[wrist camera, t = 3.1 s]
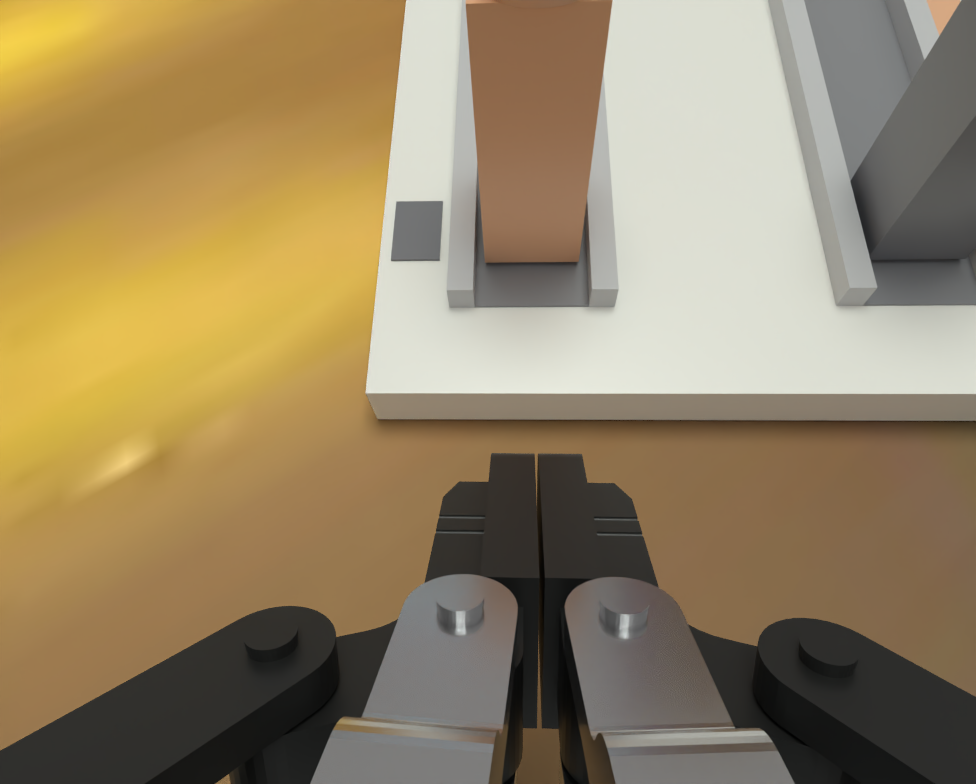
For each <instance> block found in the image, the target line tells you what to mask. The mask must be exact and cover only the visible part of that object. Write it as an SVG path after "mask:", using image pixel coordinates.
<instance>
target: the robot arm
mask: <svg viewBox="0 0 976 784" xmlns="http://www.w3.org/2000/svg"><path fill="white" fill-rule="evenodd" d="M538 629H539V658H540V688H541V717H542V728H552V729H559V740H560V765H559V784H976V697H975V696H973V695H971V694H969V693H967V692H965V691H964V690H962V689H960V688H958V687H956V686H954V685H953V684H951V683H949V682H947V681H945V680H943V679H942V678H940V677H938V676H936V675H934V674H932V673H931V672H929V671H927V670H925V669H923V668H921V667H920V666H918V665H916V664H914V663H912V662H910V661H909V660H907V659H905V658H903V657H901V656H899V655H898V654H896V653H894V652H892V651H890V650H888V649H887V648H885V647H883V646H881V645H879V644H877V643H876V642H874V641H872V640H870V639H868V638H866V637H865V636H863V635H861V634H859V633H857V632H855V631H853V630H851V629H849V628H846V627H843V626H841V625H838V624H835V623H831V622H828V621H823V620H817V619H809V618H792V619H785V620H781V621H778V622H775V623H773V624H771V625H769V626H768V627H767V628H766V629H765V630H764V631H763V632H762V634H761V635H760V638H759V641H758V646H753V645H748V644H744V643H740V642H736V641H732V640H728V639H723V638H720V637H716V636H713V635H710V634H707V633H705V632H702V631H700V630H698V629H696V628H694V627H692V626H690V625H688V624H687V622H686V619H685V617H684V615H683V613H682V611H681V609H680V607H679V605H678V604H677V602H676V601H675V600H674V599H673V598H672V597H671V596H670V595H669V594H667V593H666V592H665V591H663V590H661V589H660V588H659V587H658V584H657V580H656V577H655V574H654V571H653V567H652V564H651V561H650V557H649V554H648V551H647V547H646V544H645V541H644V538H643V536H642V531H641V528H640V524H639V521H637V514H636V511H635V508H634V505H633V501H632V499H631V498H630V497H629V496H628V495H627V494H626V493H624V492H623V491H622V490H621V489H620V488H619V487H618V486H617V485H616V484H614V483H587V479H586V473H585V468H584V463H583V458H582V454H538V471H537V505H536V480H535V455H534V454H511V453H491V462H490V472H489V482H458V483H457V484H456V485H455V486H454V487H453V488H452V489H451V490H450V491H449V492H448V493H447V494H446V495H445V496H444V497H443V501H442V505H441V510H440V514H439V519H438V524H437V528H436V533H435V537H434V542H433V547H432V551H431V556H430V560H429V565H428V570H427V574H426V579H425V583H424V584H422V585H420V586H419V587H417V588H416V589H415V590H414V591H413V592H411V594H410V595H409V596H408V597H407V599H406V601H405V603H404V605H403V608H402V610H401V613H400V616H399V618H398V619H397V620H396V621H394V622H392V623H390V624H387V625H385V626H382V627H379V628H376V629H372V630H368V631H364V632H359V633H354V634H349V635H345V636H340V637H336V632H335V629H334V626H333V624H332V623H331V621H330V620H329V619H328V618H327V617H326V616H325V615H323V614H321V613H320V612H318V611H315V610H312V609H309V608H305V607H298V606H282V607H274V608H268V609H265V610H261V611H258V612H255V613H252V614H249V615H247V616H245V617H243V618H241V619H239V620H237V621H235V622H234V623H232V624H230V625H228V626H226V627H224V628H223V629H221V630H219V631H217V632H215V633H214V634H212V635H210V636H208V637H206V638H204V639H203V640H201V641H199V642H197V643H195V644H194V645H192V646H190V647H188V648H186V649H184V650H183V651H181V652H179V653H177V654H175V655H174V656H172V657H170V658H168V659H166V660H164V661H163V662H161V663H159V664H157V665H155V666H154V667H152V668H150V669H148V670H146V671H144V672H143V673H141V674H139V675H137V676H135V677H134V678H132V679H130V680H128V681H126V682H124V683H123V684H121V685H119V686H117V687H115V688H114V689H112V690H110V691H108V692H106V693H104V694H103V695H101V696H99V697H97V698H95V699H94V700H92V701H90V702H88V703H86V704H84V705H83V706H81V707H79V708H77V709H75V710H74V711H72V712H70V713H68V714H66V715H65V716H63V717H61V718H59V719H57V720H55V721H54V722H52V723H50V724H48V725H46V726H45V727H43V728H41V729H39V730H37V731H35V732H34V733H32V734H30V735H28V736H26V737H25V738H23V739H21V740H19V741H17V742H15V743H14V744H12V745H10V746H8V747H6V748H5V749H3V750H1V751H0V784H215V783H216V782H218V781H219V780H221V779H222V778H223V777H225V776H226V775H228V774H229V776H230V782H231V784H517V768H518V766H519V764H520V761H521V758H522V749H523V728H537V686H538Z"/></svg>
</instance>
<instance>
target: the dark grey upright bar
mask: <svg viewBox="0 0 976 784" xmlns="http://www.w3.org/2000/svg"><path fill="white" fill-rule="evenodd" d="M850 182H851V186H852V190H853V194H854V198H855V202H856V206H857V209H858V213H859V217H860V221H861V225H862V229H863V233H864V237H865V241H866V245H867V249H868V253H869V256H870V260H907V259H966V258H967V257H968V256H969V254H970V253H971V252H972V251H973V250H974V249H975V248H976V0H961V2H960V3H959V5H958V6H957V8H956V10H955V11H954V13H953V15H952V16H951V18H950V19H949V21H948V23H947V24H946V26H945V28H944V29H943V31H942V33H941V34H940V36H939V37H938V39H937V41H936V42H935V44H934V46H933V47H932V49H931V50H930V52H929V54H928V55H927V57H926V59H925V60H924V62H923V63H922V65H921V67H920V68H919V70H918V72H917V73H916V75H915V76H914V78H913V80H912V81H911V83H910V85H909V86H908V88H907V90H906V91H905V93H904V94H903V96H902V98H901V99H900V101H899V103H898V104H897V106H896V107H895V109H894V111H893V112H892V114H891V116H890V117H889V119H888V120H887V122H886V124H885V125H884V127H883V129H882V130H881V132H880V133H879V135H878V137H877V138H876V140H875V142H874V143H873V145H872V147H871V148H870V150H869V151H868V153H867V155H866V156H865V158H864V160H863V161H862V163H861V164H860V166H859V168H858V169H857V171H856V173H855V174H854V176H853V177H852V179H851V181H850Z"/></svg>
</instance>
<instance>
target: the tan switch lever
mask: <svg viewBox="0 0 976 784" xmlns="http://www.w3.org/2000/svg"><path fill="white" fill-rule="evenodd" d="M612 1H613V0H466V17H467V30H468V44H469V57H470V70H471V84H472V97H473V110H474V124H475V137H476V150H477V164H478V177H479V190H480V204H481V217H482V230H483V244H484V257H485V263H498V262H579V256H580V248H581V240H582V232H583V225H584V217H585V209H586V202H587V194H588V186H589V178H590V171H591V163H592V155H593V148H594V140H595V132H596V125H597V117H598V109H599V101H600V94H601V86H602V78H603V71H604V63H605V55H606V47H607V40H608V32H609V24H610V17H611V9H612Z"/></svg>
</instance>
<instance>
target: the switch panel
mask: <svg viewBox="0 0 976 784" xmlns="http://www.w3.org/2000/svg"><path fill="white" fill-rule="evenodd" d="M960 2H961V0H613V1H612V9H611V17H610V24H609V32H608V40H607V47H606V55H605V63H604V71H603V78H602V86H601V94H600V101H599V109H598V117H597V125H596V132H595V140H594V148H593V155H592V163H591V171H590V178H589V186H588V194H587V202H586V209H585V217H584V225H583V232H582V240H581V248H580V256H579V262H498V263H485V257H484V244H483V230H482V217H481V204H480V190H479V177H478V164H477V150H476V137H475V124H474V110H473V97H472V84H471V70H470V57H469V44H468V30H467V17H466V0H406V8H405V17H404V27H403V37H402V46H401V56H400V66H399V75H398V85H397V95H396V104H395V114H394V124H393V133H392V143H391V153H390V162H389V172H388V182H387V191H386V201H385V211H384V220H383V230H382V239H381V249H380V259H379V268H378V278H377V288H376V297H375V307H374V317H373V326H372V336H371V346H370V355H369V365H368V375H367V384H366V395H367V397H368V400H369V402H370V404H371V406H372V408H373V410H374V412H375V414H376V417H377V419H491V420H850V421H976V248H975V249H974V250H973V251H972V252H971V253H970V254H969V256H968V257H967V258H966V259H907V260H870V256H869V253H868V249H867V245H866V241H865V237H864V233H863V229H862V225H861V221H860V217H859V213H858V209H857V206H856V202H855V198H854V194H853V190H852V186H851V182H850V181H851V179H852V177H853V176H854V174H855V173H856V171H857V169H858V168H859V166H860V164H861V163H862V161H863V160H864V158H865V156H866V155H867V153H868V151H869V150H870V148H871V147H872V145H873V143H874V142H875V140H876V138H877V137H878V135H879V133H880V132H881V130H882V129H883V127H884V125H885V124H886V122H887V120H888V119H889V117H890V116H891V114H892V112H893V111H894V109H895V107H896V106H897V104H898V103H899V101H900V99H901V98H902V96H903V94H904V93H905V91H906V90H907V88H908V86H909V85H910V83H911V81H912V80H913V78H914V76H915V75H916V73H917V72H918V70H919V68H920V67H921V65H922V63H923V62H924V60H925V59H926V57H927V55H928V54H929V52H930V50H931V49H932V47H933V46H934V44H935V42H936V41H937V39H938V37H939V36H940V34H941V33H942V31H943V29H944V28H945V26H946V24H947V23H948V21H949V19H950V18H951V16H952V15H953V13H954V11H955V10H956V8H957V6H958V5H959V3H960Z"/></svg>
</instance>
